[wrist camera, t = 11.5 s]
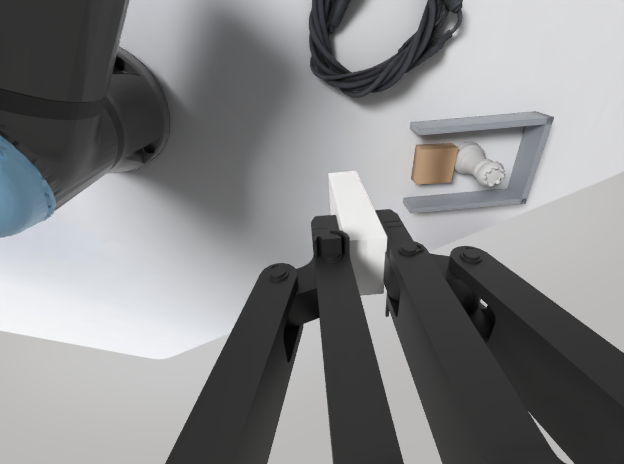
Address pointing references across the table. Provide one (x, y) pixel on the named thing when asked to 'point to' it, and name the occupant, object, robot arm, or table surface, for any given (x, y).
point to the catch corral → (522, 170)
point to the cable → (418, 48)
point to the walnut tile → (434, 163)
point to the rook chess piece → (478, 165)
